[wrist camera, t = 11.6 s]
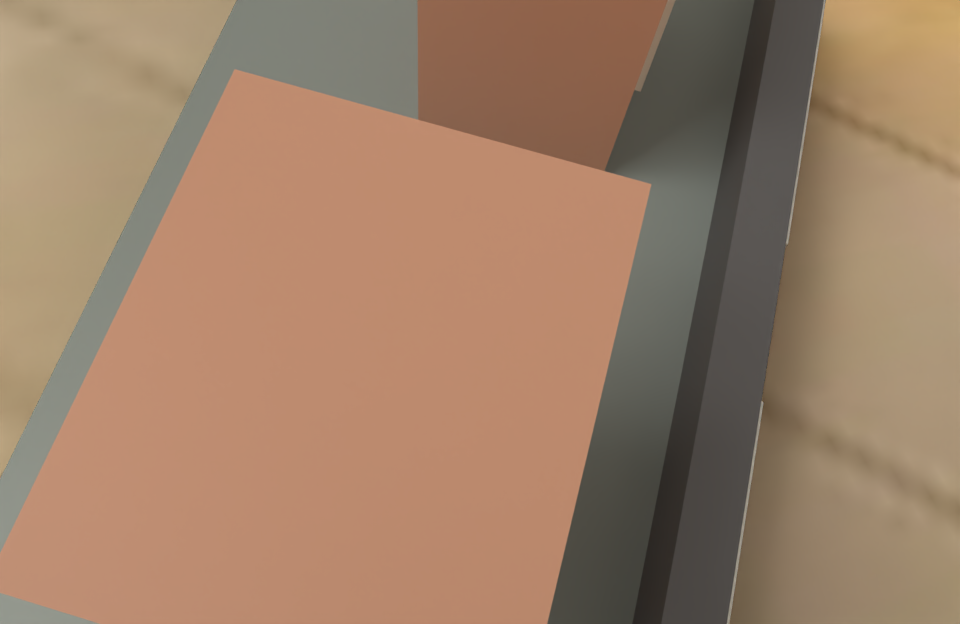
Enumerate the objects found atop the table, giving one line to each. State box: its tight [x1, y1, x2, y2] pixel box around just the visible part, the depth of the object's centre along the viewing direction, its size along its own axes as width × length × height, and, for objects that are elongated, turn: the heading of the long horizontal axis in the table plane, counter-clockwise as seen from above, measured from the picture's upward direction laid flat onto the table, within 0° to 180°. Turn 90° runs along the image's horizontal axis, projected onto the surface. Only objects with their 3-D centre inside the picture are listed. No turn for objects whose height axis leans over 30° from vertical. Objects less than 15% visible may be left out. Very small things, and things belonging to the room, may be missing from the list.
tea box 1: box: [0, 69, 651, 624], centre depth 14 cm, size 5×6×11 cm
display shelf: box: [0, 0, 826, 624], centre depth 21 cm, size 16×27×6 cm, turn 165°
